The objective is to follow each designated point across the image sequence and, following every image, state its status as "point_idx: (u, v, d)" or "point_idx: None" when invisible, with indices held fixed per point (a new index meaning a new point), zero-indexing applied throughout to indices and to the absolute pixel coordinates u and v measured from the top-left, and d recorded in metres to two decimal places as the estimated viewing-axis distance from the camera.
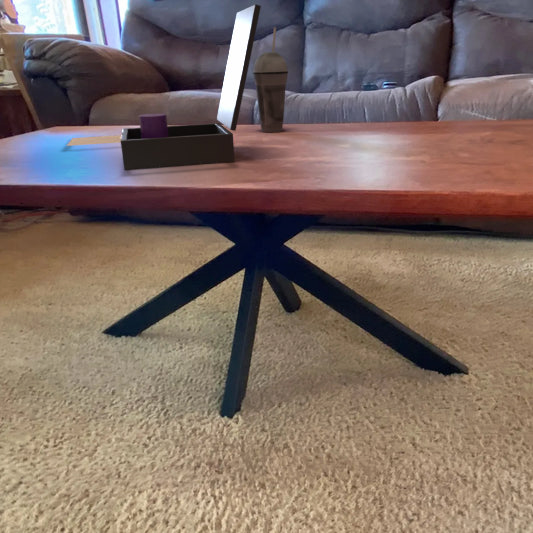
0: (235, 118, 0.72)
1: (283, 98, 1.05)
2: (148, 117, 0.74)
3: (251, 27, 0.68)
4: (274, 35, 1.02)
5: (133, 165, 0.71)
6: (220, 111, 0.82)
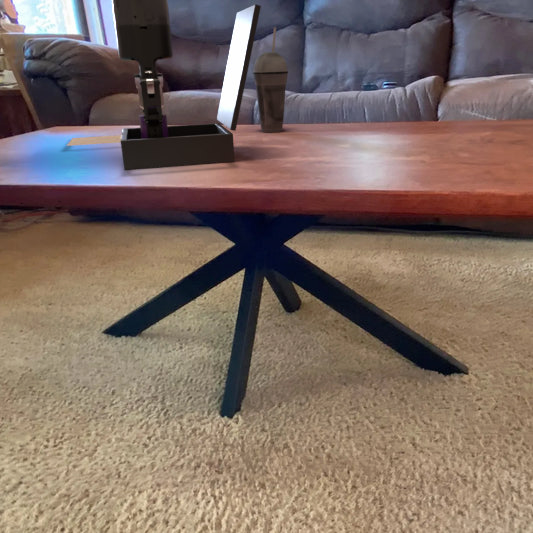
0: (235, 118, 0.72)
1: (283, 98, 1.05)
2: None
3: (251, 27, 0.68)
4: (274, 35, 1.02)
5: (133, 165, 0.71)
6: (220, 111, 0.82)
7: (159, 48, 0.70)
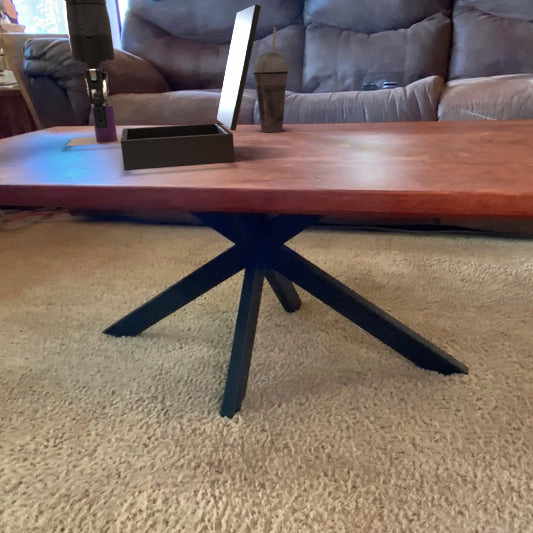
0: (235, 118, 0.72)
1: (283, 98, 1.05)
2: None
3: (251, 27, 0.68)
4: (274, 35, 1.02)
5: (133, 165, 0.71)
6: (220, 111, 0.82)
7: (102, 53, 0.91)
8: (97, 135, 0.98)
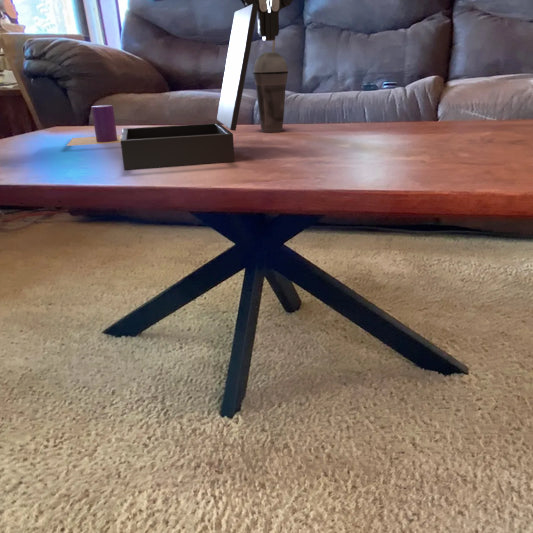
0: (235, 118, 0.72)
1: (283, 98, 1.05)
2: (97, 107, 0.96)
3: (249, 26, 0.68)
4: None
5: (133, 165, 0.71)
6: (220, 111, 0.82)
7: None
8: (97, 135, 0.98)
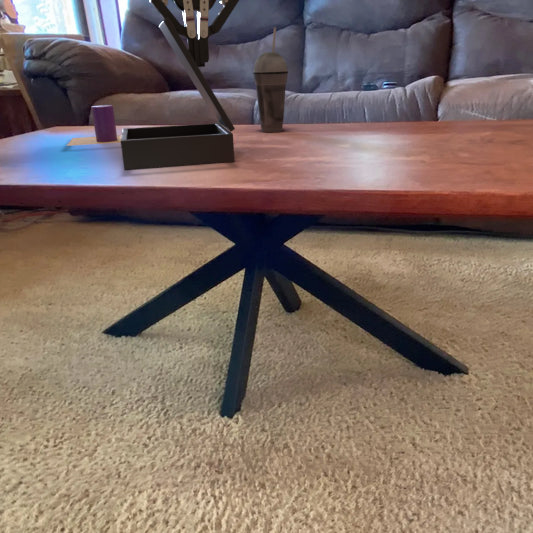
0: (226, 120, 0.72)
1: (283, 98, 1.05)
2: (97, 107, 0.96)
3: (176, 41, 0.67)
4: (274, 35, 1.02)
5: (133, 165, 0.71)
6: (213, 114, 0.82)
7: None
8: (97, 135, 0.98)
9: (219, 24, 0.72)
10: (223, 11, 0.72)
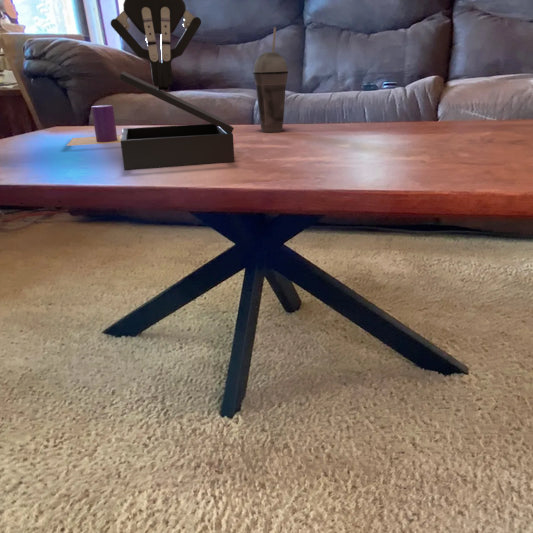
0: (222, 125, 0.72)
1: (283, 98, 1.05)
2: (97, 107, 0.96)
3: (140, 88, 0.68)
4: (274, 35, 1.02)
5: (133, 165, 0.71)
6: None
7: None
8: (97, 135, 0.98)
9: (181, 47, 0.72)
10: (185, 34, 0.72)
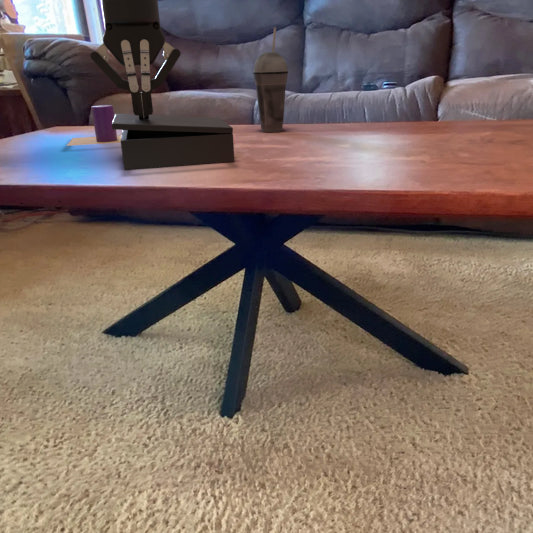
0: (221, 130, 0.72)
1: (283, 98, 1.05)
2: (97, 107, 0.96)
3: (134, 129, 0.69)
4: (274, 35, 1.02)
5: (133, 165, 0.71)
6: None
7: (106, 13, 0.68)
8: (97, 135, 0.98)
9: (161, 78, 0.73)
10: (165, 65, 0.73)
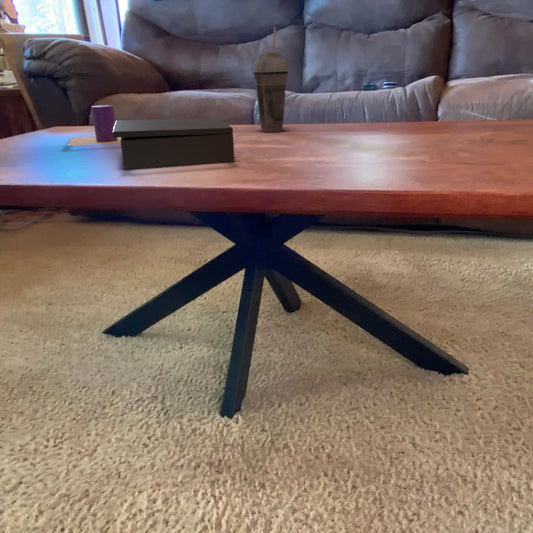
0: (221, 131, 0.72)
1: (283, 98, 1.05)
2: (97, 107, 0.96)
3: (134, 135, 0.70)
4: (274, 35, 1.02)
5: (133, 165, 0.71)
6: None
7: None
8: (97, 135, 0.98)
9: None
10: None
